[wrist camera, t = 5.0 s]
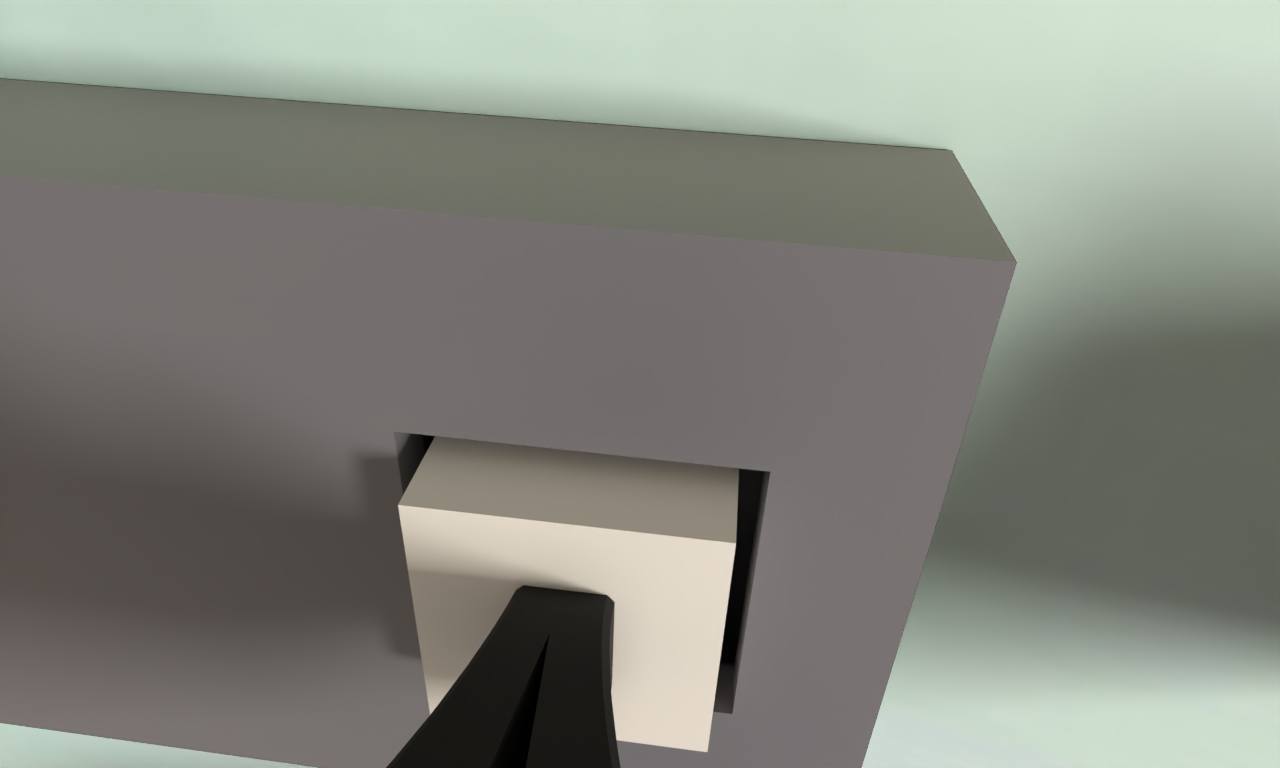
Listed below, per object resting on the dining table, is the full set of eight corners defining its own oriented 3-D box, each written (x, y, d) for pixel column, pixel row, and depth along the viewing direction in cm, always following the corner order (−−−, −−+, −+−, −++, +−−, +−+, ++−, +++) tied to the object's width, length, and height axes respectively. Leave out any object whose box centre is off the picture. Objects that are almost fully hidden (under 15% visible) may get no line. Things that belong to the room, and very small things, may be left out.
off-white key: (716, 608, 16) (707, 752, 14) (481, 579, 16) (430, 714, 14) (741, 411, 14) (736, 543, 11) (463, 383, 14) (397, 504, 11)
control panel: (826, 667, 20) (838, 840, 16) (-140, 547, 21) (-306, 680, 18) (952, 150, 13) (1016, 262, 10) (-457, 44, 15) (-809, 106, 12)
